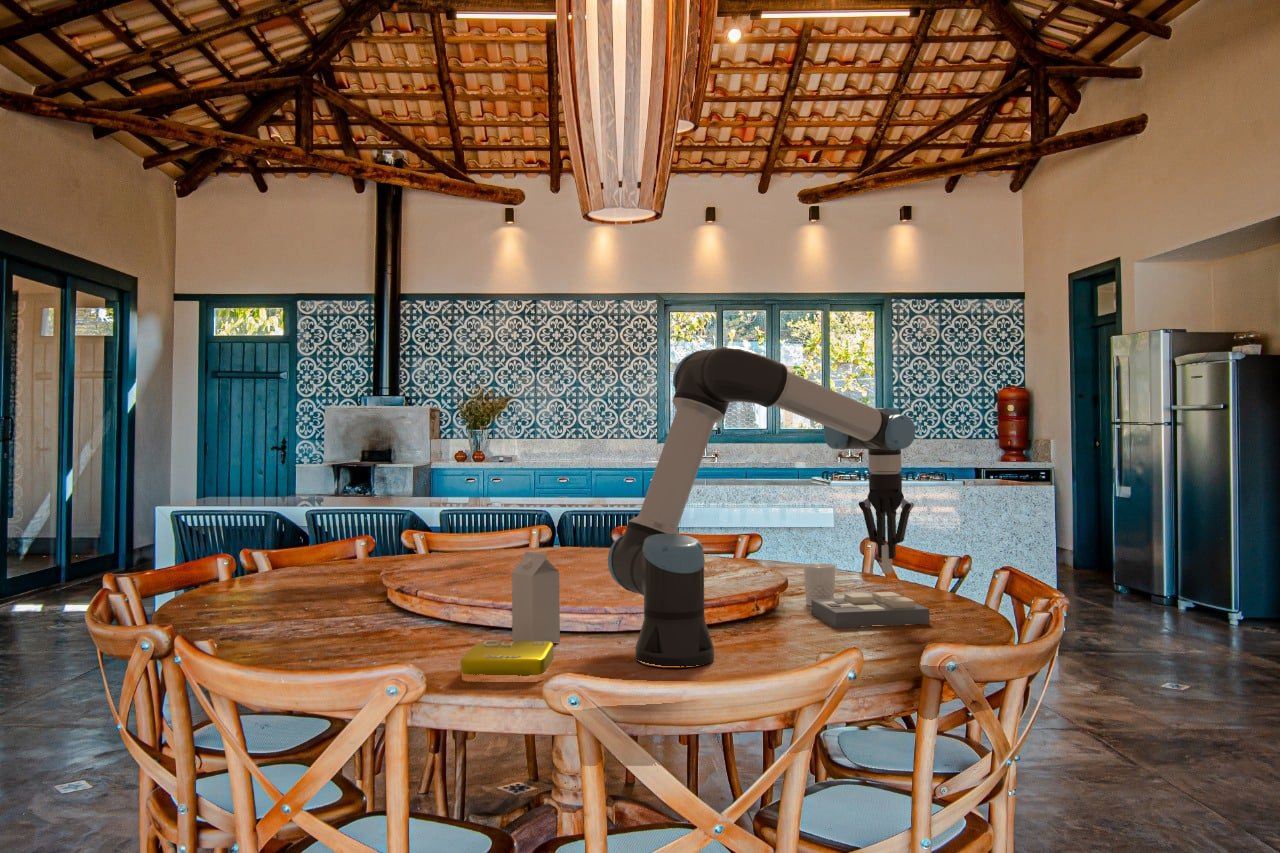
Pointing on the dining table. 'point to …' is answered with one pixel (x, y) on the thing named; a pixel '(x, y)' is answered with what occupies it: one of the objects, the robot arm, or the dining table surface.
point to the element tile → (508, 658)
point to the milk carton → (535, 600)
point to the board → (866, 614)
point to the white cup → (819, 581)
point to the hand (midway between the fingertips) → (887, 572)
